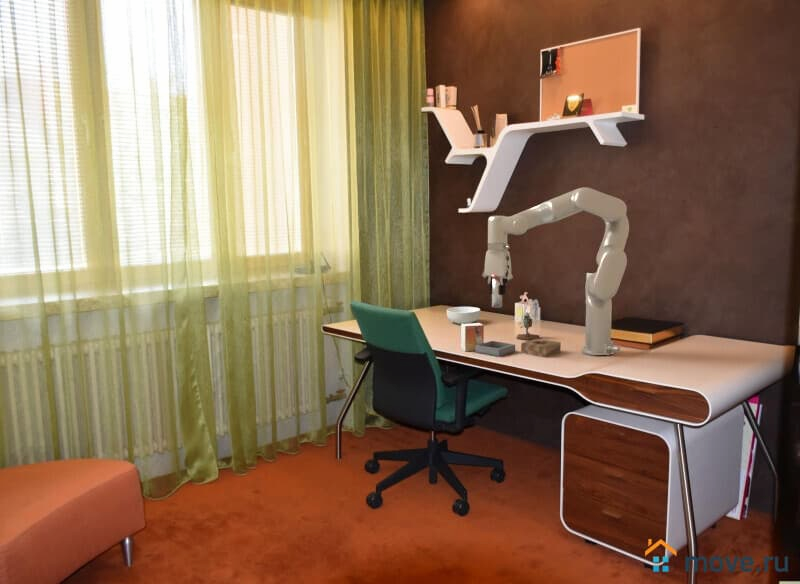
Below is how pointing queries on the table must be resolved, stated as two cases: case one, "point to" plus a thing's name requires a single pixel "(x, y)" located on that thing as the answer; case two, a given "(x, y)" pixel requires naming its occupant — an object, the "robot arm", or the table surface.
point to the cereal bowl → (463, 314)
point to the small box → (471, 336)
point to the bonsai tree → (527, 324)
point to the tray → (495, 348)
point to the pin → (496, 292)
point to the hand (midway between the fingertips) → (497, 293)
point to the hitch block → (540, 347)
